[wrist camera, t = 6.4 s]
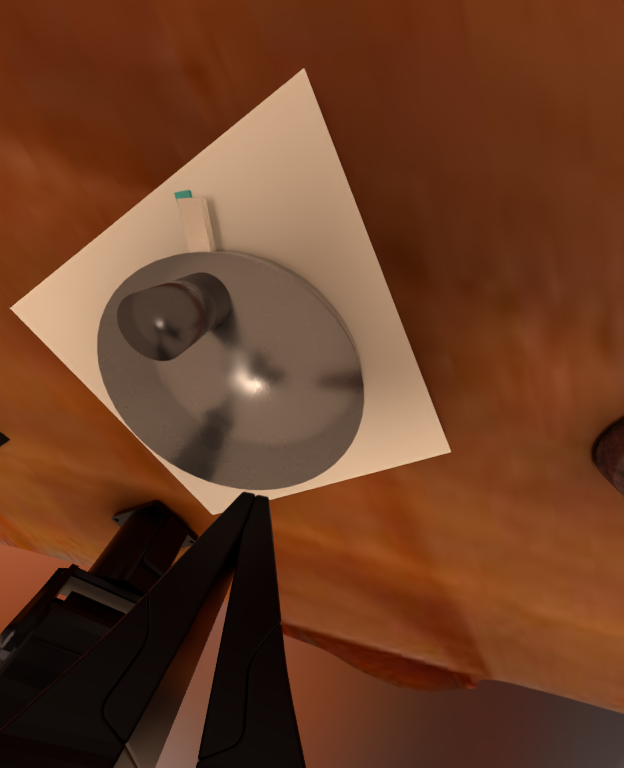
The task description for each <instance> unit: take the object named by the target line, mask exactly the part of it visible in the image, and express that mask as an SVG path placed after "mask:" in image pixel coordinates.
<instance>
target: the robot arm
mask: <svg viewBox="0 0 624 768" xmlns="http://www.w3.org/2000/svg"><path fill="white" fill-rule="evenodd" d="M112 520H113V521H114V522H115V523H117V524H118V525H119V526H120V527H121V528H120V530H119V531H118V532H117V534H116V535H115V536H114V538H113V539H112V540H111V542H110V543H109V544H108V546H107V547H106V548H105V550H104V551H103V552H102V554H101V555H100V556H99V558H98V559H97V560H96V562H95V563H94V564H93V566H92V567H91V568H90V570H89V571H88V572H86V571H84V570H82V569H80V568H78V567H79V566H77V565H75V564H72V565H71V566H70V567H69V568H58V570H57V571H56V572H55V573H54V574H53V576H52V577H51V578H50V579H49V580H48V582H47V583H46V584H45V585H44V586H43V587H42V588H41V590H40V591H39V592H38V593H37V594H36V595H35V596H34V597H33V598H32V600H31V601H30V602H29V603H28V604H27V605H26V606H25V607H24V608H23V609H22V610H21V612H20V613H19V614H18V615H17V616H16V617H15V618H14V619H13V620H12V621H11V622H10V624H9V625H8V626H7V627H6V628H5V629H4V631H3V632H2V633H1V634H0V768H155V767H156V764H157V762H158V760H159V757H160V754H161V752H162V750H163V747H164V745H165V742H166V740H167V737H168V735H169V733H170V730H171V728H172V725H173V723H174V720H175V718H176V716H177V713H178V711H179V708H180V706H181V703H182V701H183V698H184V696H185V694H186V691H187V689H188V686H189V684H190V681H191V679H192V677H193V674H194V672H195V669H196V666H197V664H198V662H199V659H200V657H201V654H202V652H203V650H204V647H205V645H206V642H207V640H208V637H209V635H210V632H211V630H212V628H213V625H214V623H215V620H216V617H217V615H218V613H219V611H220V608H221V606H222V603H223V601H224V598H225V596H226V594H227V591H228V589H229V586H230V584H231V581H232V579H233V581H232V587H231V592H230V597H229V602H228V607H227V612H226V617H225V623H224V627H223V632H222V637H221V643H220V648H219V653H218V658H217V663H216V668H215V673H214V678H213V683H212V688H211V694H210V699H209V704H208V709H207V714H206V719H205V724H204V729H203V734H202V740H201V744H200V750H199V755H198V763H197V765H196V768H306V766H305V760H304V755H303V750H302V746H301V741H300V735H299V731H298V725H297V720H296V716H295V711H294V706H293V700H292V695H291V689H290V683H289V678H288V672H287V665H286V657H285V649H284V641H283V630H282V625H281V612H280V602H279V592H278V582H277V572H276V562H275V552H274V542H273V532H272V522H271V512H270V502H269V498H268V497H267V496H262V495H256V496H255V494H254V493H249V492H242V493H241V494H240V495H239V496H238V497H237V498H236V499H235V500H234V501H233V502H232V503H231V504H230V505H229V506H228V508H227V509H226V510H225V511H224V512H223V513H222V514H221V515H220V516H219V517H218V518H217V519H216V520H215V521H214V522H213V523H212V524H211V526H210V527H209V528H208V529H207V530H206V531H205V532H204V533H203V534H202V535H201V536H200V537H199V538H197V537H196V536H195V535H194V534H193V533H192V532H191V531H190V530H189V529H188V528H187V527H185V526H184V525H183V524H182V523H181V522H180V521H179V520H178V519H177V518H176V517H175V516H174V515H173V514H172V513H171V512H169V511H168V510H167V509H166V508H165V507H164V506H163V505H162V504H161V503H159V502H156V501H155V502H151V503H148V504H144V505H141V506H138V507H135V508H132V509H128V510H125V511H122V512H119V513H116V514H115V515H114V516H113V517H112ZM191 545H192V546H191ZM187 546H191V547H190V548H189V549H188V550H187V551H186V552H185V553H184V554H183V555H182V556H181V557H180V558H179V559H178V560H177V561H176V562H175V564H174V565H173V566H172V564H173V562H174V560H175V558H176V557H177V555H178V553H179V551H180V549H181V548H182V547H187ZM171 566H172V567H171ZM59 594H62V595H64V596H67V598H66V599H65V601H63V600H61V599H58V598H56V597H57V596H58V595H59Z"/></svg>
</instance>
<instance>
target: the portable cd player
mask: <svg viewBox="0 0 624 768" xmlns="http://www.w3.org/2000/svg"><path fill="white" fill-rule="evenodd" d="M9 440H10V439H9V438H7V437H6V436H5V435H4V434H2V433H1V432H0V446H2V445H3V444H5V443H6V442H7V441H9Z"/></svg>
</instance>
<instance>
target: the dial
mask: <svg viewBox="0 0 624 768" xmlns="http://www.w3.org/2000/svg"><path fill="white" fill-rule="evenodd" d="M177 203H178V207H179V212H180V216H181V220H182V224H183V228H184V233H185V237H186V241H187V245H188V249H189V252H188V253H183V254H178V255H173V256H170V257H167V258H163V259H160V260H156V261H154V262H152V263H150V264H148V265H146V266H144V267H142V268H140V269H139V270H137V271H136V272H135V273H133V274H132V275H131V276H129V277H128V278H127V279H125V280H124V281H123V283H122V284H121V285H120V286H119V287H118V288H117V289H116V290H115V291H114V293H113V295H112V296H111V298H110V299H109V301H108V303H107V304H106V306H105V309H104V312H103V314H102V317H101V320H100V324H99V329H98V335H97V356H98V363H99V369H100V373H101V376H102V380H103V383H104V385H105V388H106V390H107V393H108V395H109V397H110V399H111V401H112V403H113V405H114V407H115V408H116V410H117V412H118V413H119V414H120V416H121V417H122V419H123V420H124V422H125V423H126V424H127V425H128V427H129V428H130V429H131V430H132V431H133V433H134V434H135V435H136V436H137V437H138V438H139V439H140V440H141V441H142V442H143V443H144V444H145V445H146V446H148V447H149V448H150V449H151V450H152V451H154V452H155V453H156V454H157V455H159V456H160V457H162V458H163V459H164V460H166V461H167V462H169V463H170V464H172V465H174V466H176V467H177V468H179V469H181V470H182V471H185V472H187V473H189V474H191V475H193V476H195V477H198V478H200V479H203V480H205V481H208V482H211V483H215V484H218V485H222V486H226V487H231V488H236V489H245V490H273V489H281V488H286V487H291V486H294V485H298V484H301V483H304V482H306V481H308V480H311V479H313V478H315V477H317V476H319V475H320V474H322V473H324V472H325V471H327V470H328V469H329V468H330V467H332V466H333V465H334V464H336V462H337V461H338V460H339V459H340V458H341V457H342V456H343V455H344V454H345V453H346V451H347V450H348V448H349V447H350V445H351V444H352V442H353V440H354V438H355V436H356V434H357V432H358V430H359V426H360V423H361V420H362V415H363V408H364V383H363V372H362V366H361V361H360V356H359V353H358V350H357V347H356V344H355V341H354V339H353V337H352V335H351V333H350V331H349V329H348V327H347V325H346V323H345V322H344V320H343V319H342V318H341V316H340V315H339V313H338V312H337V310H336V309H335V308H334V307H333V305H332V304H331V303H330V302H329V301H328V300H327V299H326V298H325V297H324V295H323V294H322V293H320V292H319V291H318V290H317V289H316V288H315V287H313V286H312V285H311V284H310V283H309V282H308V281H306V280H305V279H303V278H302V277H300V276H299V275H297V274H296V273H294V272H293V271H291V270H289V269H288V268H285V267H283V266H281V265H279V264H277V263H275V262H273V261H271V260H268V259H265V258H262V257H259V256H256V255H253V254H249V253H243V252H238V251H232V250H216V248H215V243H214V238H213V232H212V227H211V222H210V217H209V212H208V207H207V202H206V198H202V197H194V198H180V199H177Z"/></svg>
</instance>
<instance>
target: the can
mask: <svg viewBox="0 0 624 768" xmlns="http://www.w3.org/2000/svg"><path fill="white" fill-rule="evenodd" d="M596 462H597V468H598V470H599V471H600V472H601V474H602V475H603V476H604V477H605V478H606V479H607V480H608V481H609V482H610V483H611V484H612V485H613V486H614V487H615V488H616V489H617V490H618V491H619V492H620V493H621V494H622V495H623V496H624V420H623V421H621V422H620V423H618V424H617V425H616V426H614V427H613V428H611V429H610V430H609V431H608V432H607V433H606V434H605V435H604V436H603V437H602V438H601V440H600V441H599V444H598V446H597V448H596Z"/></svg>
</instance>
